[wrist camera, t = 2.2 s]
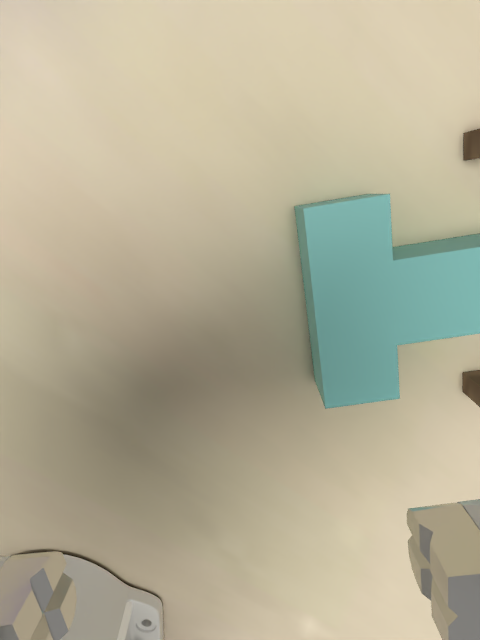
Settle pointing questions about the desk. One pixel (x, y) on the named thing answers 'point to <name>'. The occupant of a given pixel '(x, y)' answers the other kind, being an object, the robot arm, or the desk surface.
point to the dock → (476, 382)
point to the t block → (378, 295)
